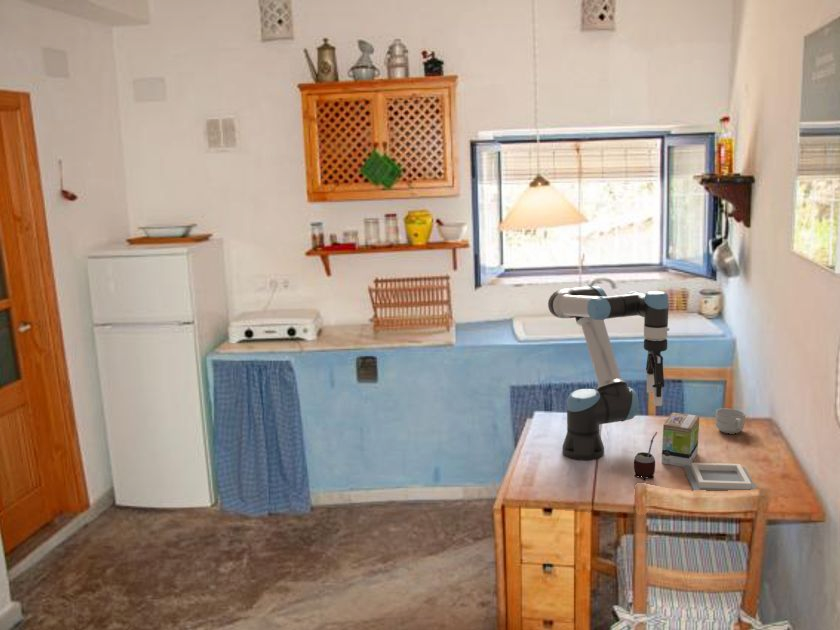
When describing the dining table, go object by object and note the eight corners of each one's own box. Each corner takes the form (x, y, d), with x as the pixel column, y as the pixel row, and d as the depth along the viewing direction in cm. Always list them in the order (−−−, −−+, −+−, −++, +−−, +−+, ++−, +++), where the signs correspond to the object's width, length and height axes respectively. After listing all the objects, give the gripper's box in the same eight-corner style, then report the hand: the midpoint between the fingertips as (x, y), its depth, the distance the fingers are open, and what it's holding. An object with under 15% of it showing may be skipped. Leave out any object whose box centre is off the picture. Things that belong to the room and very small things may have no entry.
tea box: (690, 468, 274) (691, 428, 270) (660, 463, 278) (661, 424, 275) (698, 453, 286) (699, 414, 283) (670, 449, 291) (671, 411, 288)
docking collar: (693, 493, 254) (694, 484, 254) (683, 468, 274) (684, 460, 273) (759, 495, 251) (759, 486, 250) (744, 469, 270) (744, 461, 270)
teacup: (712, 426, 312) (713, 407, 310) (740, 426, 310) (741, 407, 309) (720, 439, 299) (721, 419, 297) (750, 439, 297) (751, 419, 295)
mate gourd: (633, 480, 266) (633, 438, 263) (634, 471, 273) (634, 430, 270) (656, 482, 264) (657, 440, 260) (656, 472, 271) (657, 431, 268)
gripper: (674, 347, 248) (672, 411, 253) (660, 329, 273) (659, 387, 277) (650, 347, 249) (648, 411, 254) (638, 329, 274) (637, 387, 278)
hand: (654, 399), depth 266 cm, fingers open, 13 cm apart
